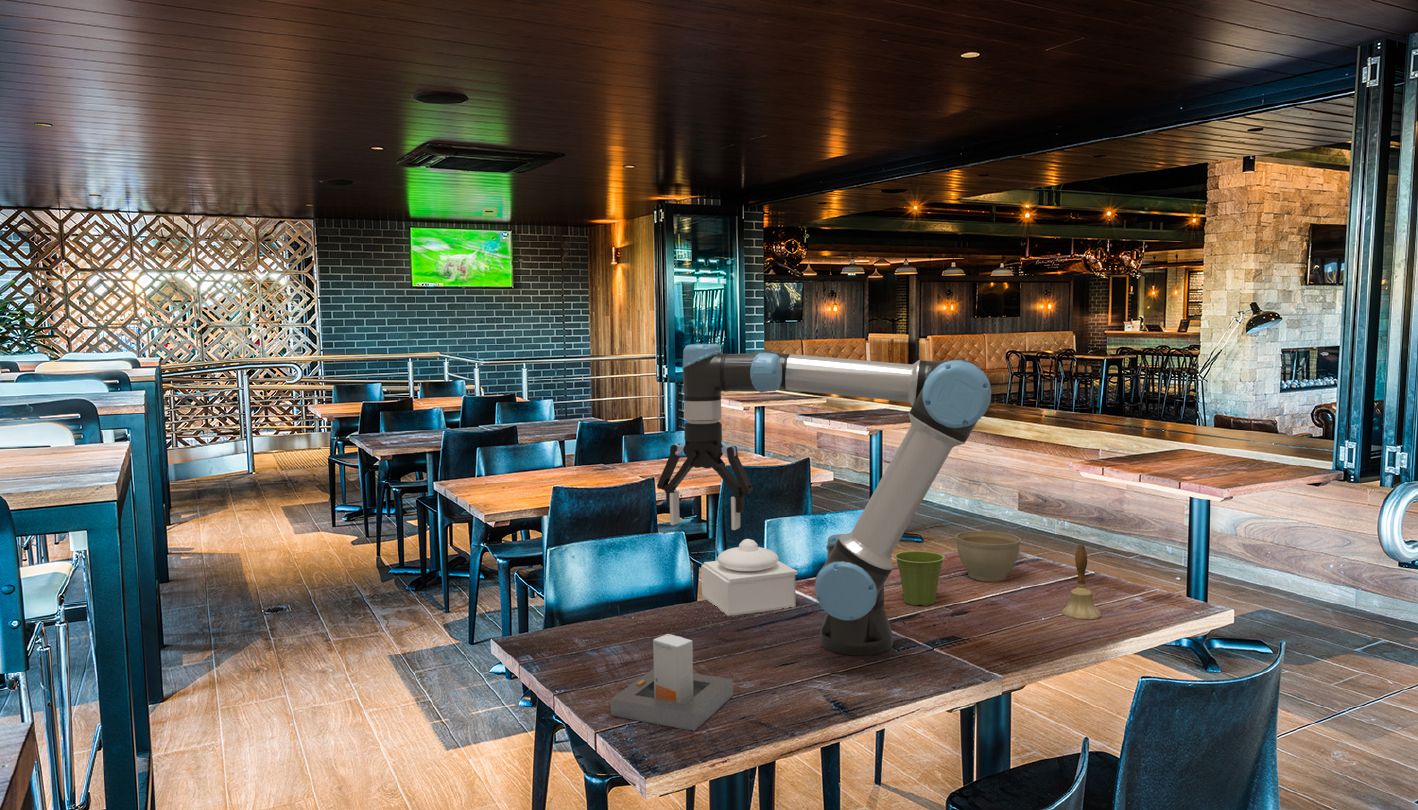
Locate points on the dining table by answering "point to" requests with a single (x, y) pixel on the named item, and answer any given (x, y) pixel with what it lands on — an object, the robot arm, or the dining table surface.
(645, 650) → the dining table surface
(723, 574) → the butter dish
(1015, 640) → the dining table surface
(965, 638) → the dining table surface
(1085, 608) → the hand bell
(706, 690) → the collar
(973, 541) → the planter bowl
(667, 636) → the skincare box
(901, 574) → the plant pot
